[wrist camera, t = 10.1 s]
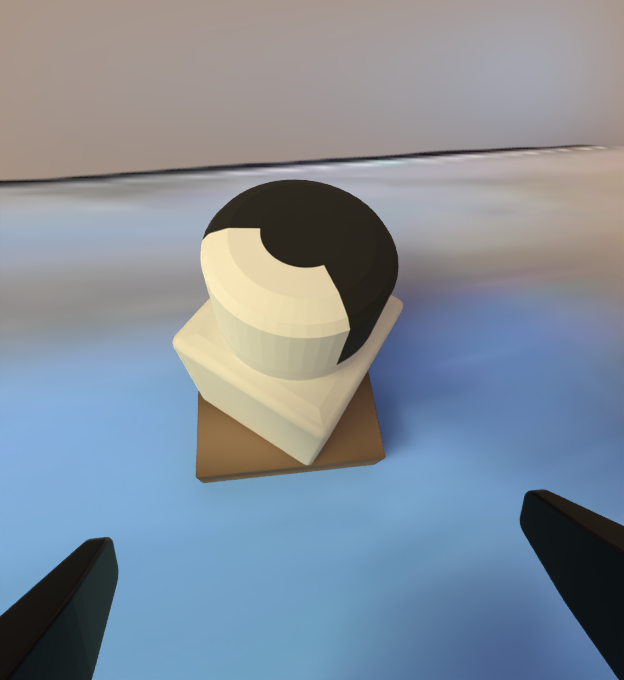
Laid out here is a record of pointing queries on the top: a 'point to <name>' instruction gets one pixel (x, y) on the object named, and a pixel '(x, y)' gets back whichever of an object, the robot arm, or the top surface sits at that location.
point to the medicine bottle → (291, 310)
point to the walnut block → (267, 459)
